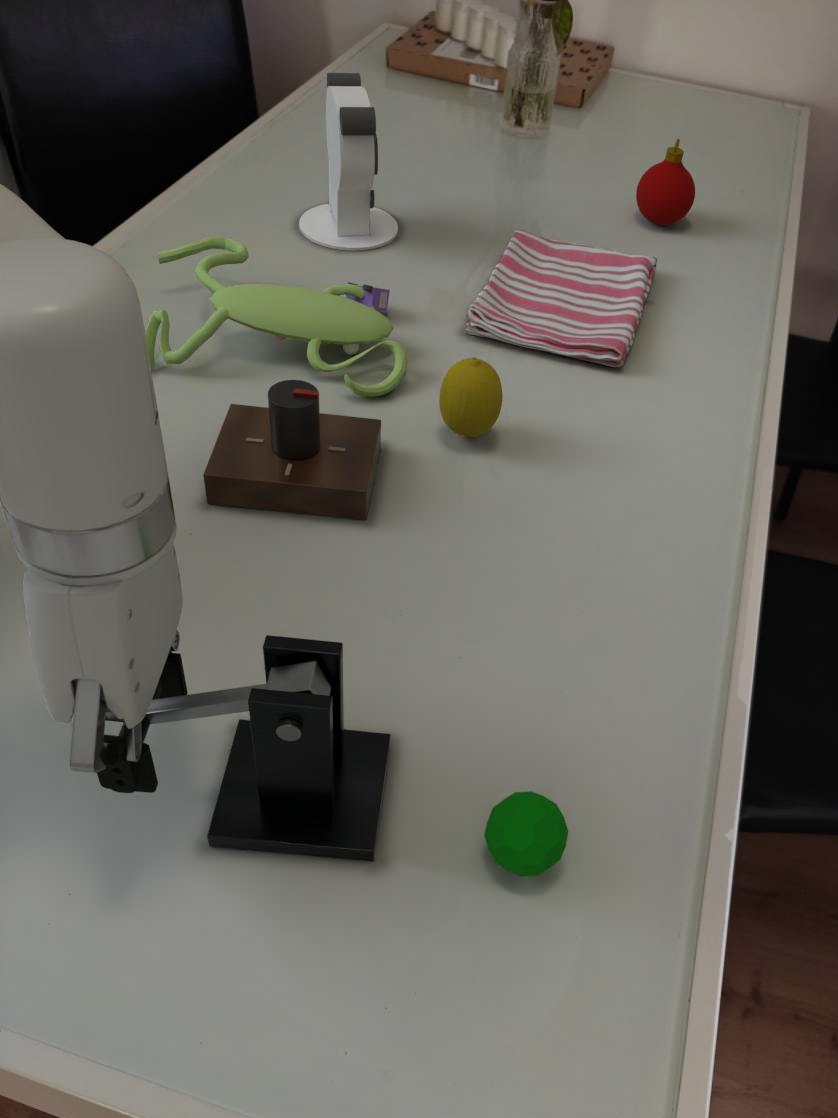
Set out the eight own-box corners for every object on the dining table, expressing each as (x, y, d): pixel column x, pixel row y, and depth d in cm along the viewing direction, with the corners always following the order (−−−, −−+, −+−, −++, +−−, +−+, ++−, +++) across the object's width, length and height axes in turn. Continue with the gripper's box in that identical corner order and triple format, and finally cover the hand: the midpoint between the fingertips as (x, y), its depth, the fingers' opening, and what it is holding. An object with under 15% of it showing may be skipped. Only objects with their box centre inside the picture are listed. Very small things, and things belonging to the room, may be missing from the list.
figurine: (177, 273, 108) (170, 222, 104) (427, 309, 108) (430, 258, 104) (113, 367, 95) (103, 312, 91) (397, 408, 95) (399, 354, 91)
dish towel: (458, 339, 104) (461, 307, 102) (514, 242, 120) (518, 212, 118) (622, 376, 102) (629, 345, 100) (657, 273, 118) (664, 243, 115)
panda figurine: (407, 252, 116) (413, 112, 105) (306, 254, 113) (301, 111, 103) (388, 204, 124) (392, 69, 113) (293, 206, 121) (288, 68, 110)
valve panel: (206, 504, 83) (202, 472, 81) (233, 432, 90) (230, 401, 88) (366, 520, 84) (366, 490, 82) (380, 447, 91) (381, 417, 88)
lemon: (444, 413, 95) (450, 336, 89) (502, 425, 95) (512, 348, 89) (430, 448, 91) (435, 369, 86) (490, 460, 91) (500, 382, 85)
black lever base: (208, 846, 62) (185, 725, 53) (240, 730, 68) (224, 604, 60) (373, 862, 62) (377, 744, 54) (390, 744, 69) (395, 621, 60)
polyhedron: (522, 807, 66) (531, 763, 63) (577, 858, 64) (590, 815, 60) (465, 850, 63) (471, 807, 60) (520, 905, 61) (530, 863, 58)
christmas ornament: (681, 240, 124) (702, 156, 117) (625, 227, 125) (642, 142, 118) (692, 217, 129) (712, 134, 122) (637, 204, 130) (654, 122, 123)
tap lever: (127, 761, 60) (106, 736, 58) (150, 695, 63) (131, 670, 61) (321, 736, 57) (305, 709, 55) (335, 669, 60) (320, 642, 59)
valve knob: (267, 457, 83) (262, 401, 80) (276, 428, 86) (272, 373, 82) (316, 462, 84) (314, 407, 80) (323, 433, 86) (322, 379, 82)
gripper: (71, 400, 55) (125, 631, 68) (-63, 632, 43) (34, 858, 56) (212, 414, 55) (239, 642, 68) (117, 650, 43) (172, 871, 56)
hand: (146, 738), depth 62 cm, fingers open, 6 cm apart
